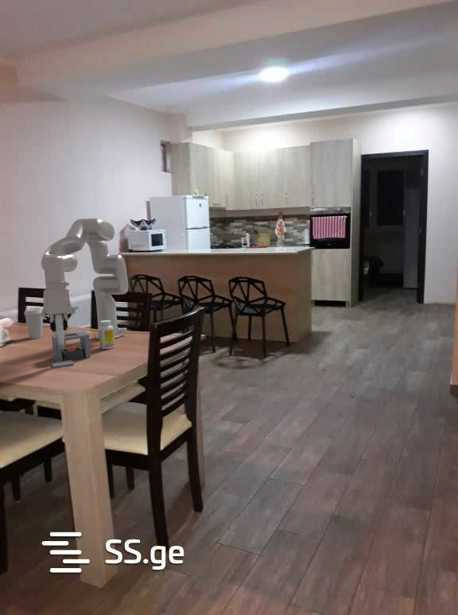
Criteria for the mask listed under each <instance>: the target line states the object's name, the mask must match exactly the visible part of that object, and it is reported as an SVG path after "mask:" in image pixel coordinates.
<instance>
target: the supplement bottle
mask: <svg viewBox="0 0 458 615" xmlns="http://www.w3.org/2000/svg"><path fill="white" fill-rule="evenodd" d="M100 324H101V326H100V327H99V331H98V334H99V339H98V340H99V347H100V349H102V350H111V349H114V348H115V338H114V331H113V327H112V326H111V325H110V324H111V321H110V320H103V321H100Z"/></svg>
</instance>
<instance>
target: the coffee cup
mask: <svg viewBox="0 0 458 615" xmlns="http://www.w3.org/2000/svg"><path fill="white" fill-rule="evenodd" d="M42 310H43V308H41V307H33V308H27V309H25V310H24V313H23V315H24V316H25V317H24V318H25V322H26V327H27V331H28V332H27V333H28V337H29V339H31V340H37V339H42V338H43V335H44V334H43V332H44V331H43V330H44V327H43V324H44V323H43V322H44V321H43V319H44V318H43V317H41V316H40V313H41V312H42Z"/></svg>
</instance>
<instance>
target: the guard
mask: <svg viewBox="0 0 458 615" xmlns="http://www.w3.org/2000/svg"><path fill="white" fill-rule="evenodd" d="M78 339H80V340H79V341H80V347H79V346H76V347H77V351H71V352H66V348H63V349H56V345H55V334H53V335H51V343H52V353H53V359H54V361H55V362H61V361H66V360H71V361H72V360H73V359H74V360H78V359H83V358H86V359H88V358H91V357H92V354H91V343H90V342H91V340H90V334H88V333H87V332H86V331H84V330H83V331H77V332H70V333H65V341H70V340H78ZM74 360H73V361H74Z"/></svg>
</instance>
